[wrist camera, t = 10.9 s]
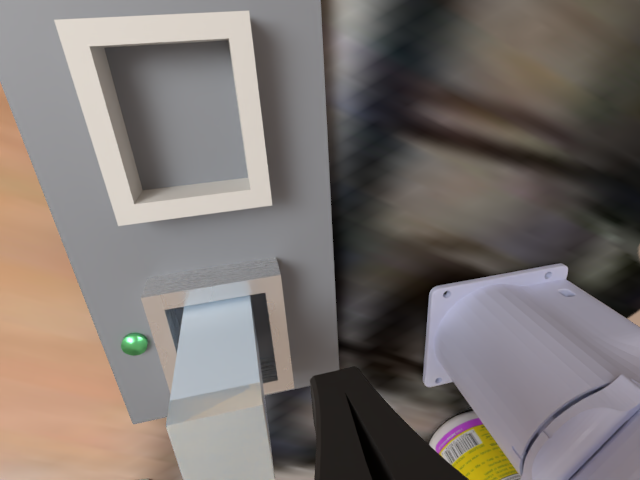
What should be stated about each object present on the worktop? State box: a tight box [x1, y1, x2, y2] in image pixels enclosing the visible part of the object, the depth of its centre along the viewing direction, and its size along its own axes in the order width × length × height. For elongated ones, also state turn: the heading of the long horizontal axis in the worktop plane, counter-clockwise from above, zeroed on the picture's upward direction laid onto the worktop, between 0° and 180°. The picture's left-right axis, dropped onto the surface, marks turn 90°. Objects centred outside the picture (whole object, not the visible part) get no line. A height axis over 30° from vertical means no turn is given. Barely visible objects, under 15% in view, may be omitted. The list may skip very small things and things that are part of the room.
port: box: [121, 257, 294, 395], centre depth 20 cm, size 8×7×2 cm
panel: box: [0, 0, 339, 424], centre depth 19 cm, size 12×21×1 cm, turn 3°
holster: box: [54, 11, 272, 226], centre depth 15 cm, size 6×7×2 cm
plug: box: [166, 295, 275, 480], centre depth 17 cm, size 3×4×8 cm
